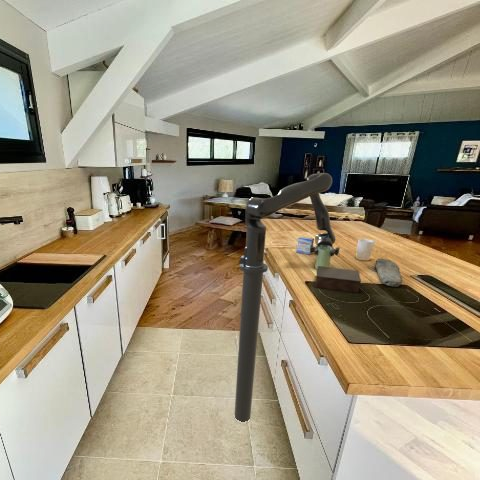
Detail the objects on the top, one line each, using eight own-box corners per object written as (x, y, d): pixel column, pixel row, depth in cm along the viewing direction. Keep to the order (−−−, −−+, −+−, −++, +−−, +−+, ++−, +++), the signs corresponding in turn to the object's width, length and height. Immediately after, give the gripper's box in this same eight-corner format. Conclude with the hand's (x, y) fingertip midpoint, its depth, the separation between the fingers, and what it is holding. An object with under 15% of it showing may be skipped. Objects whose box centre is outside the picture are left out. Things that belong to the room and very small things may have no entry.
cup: (314, 269, 150) (317, 249, 147) (315, 265, 156) (318, 246, 152) (328, 271, 148) (331, 250, 145) (328, 267, 154) (331, 247, 150)
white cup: (355, 260, 165) (358, 241, 162) (353, 256, 172) (357, 238, 168) (371, 261, 163) (376, 242, 159) (369, 257, 169) (373, 239, 166)
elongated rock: (376, 288, 131) (404, 293, 127) (380, 276, 128) (408, 281, 125) (371, 262, 160) (393, 265, 156) (374, 252, 157) (397, 255, 154)
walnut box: (314, 287, 129) (316, 275, 127) (315, 276, 141) (317, 266, 139) (358, 293, 123) (361, 281, 121) (356, 281, 135) (358, 270, 133)
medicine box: (295, 252, 179) (297, 237, 176) (298, 251, 183) (300, 236, 179) (309, 254, 175) (312, 239, 172) (312, 253, 178) (314, 238, 175)
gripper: (310, 237, 163) (309, 244, 148) (341, 239, 157) (342, 247, 143) (308, 251, 165) (306, 259, 151) (338, 254, 160) (339, 263, 146)
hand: (324, 253), depth 147 cm, fingers closed on cup, 6 cm apart
